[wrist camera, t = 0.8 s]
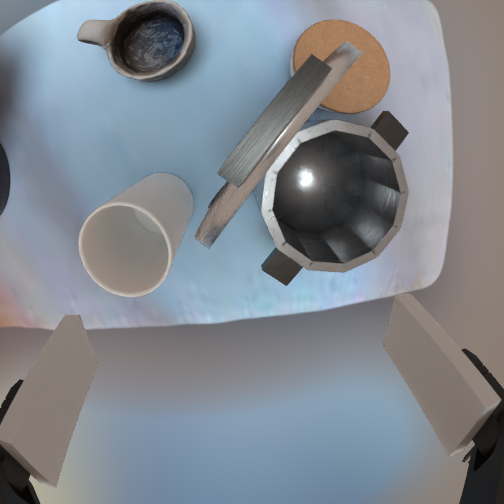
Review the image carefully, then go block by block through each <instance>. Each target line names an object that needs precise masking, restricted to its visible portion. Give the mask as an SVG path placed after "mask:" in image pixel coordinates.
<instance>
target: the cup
mask: <svg viewBox="0 0 504 504" xmlns="http://www.w3.org/2000/svg"><path fill="white" fill-rule="evenodd" d="M193 208H194V202H193V196H192V193H191V191H190V189H189V187H188V186H187V185H186V183H185V182H184V181H183V180H181V179H180V178H179V177H177V176H175V175H172V174H169V173H155V174H151V175H149V176H147V177H145V178H144V179H142V180H140V181H139V182H137V183H136V184H134V185H132V186H131V187H129V188H128V189H126V190H124V191H123V192H121V193H120V194H118V195H117V196H115V197H113V198H112V199H110V200H109V201H107V202H106V203H104V204H103V205H101V206H100V207H98V208H97V209H96V210H94V211H93V212H92V213H91V214H90V215H89V217H88V218H87V219H86V221H85V222H84V224H83V226H82V228H81V231H80V235H79V253H80V257H81V261H82V263H83V266H84V267H85V269H86V271H87V273H88V274H89V275H90V277H91V278H92V279H93V280H94V281H95V282H96V283H97V284H98V285H99V286H101V287H102V288H103V289H105V290H107V291H109V292H111V293H113V294H116V295H119V296H124V297H137V296H142V295H145V294H148V293H150V292H152V291H153V290H155V289H156V288H157V287H158V286H160V284H161V283H162V282H163V281H164V279H165V278H166V276H167V274H168V272H169V270H170V268H171V265H172V263H173V260H174V258H175V255H176V253H177V250H178V248H179V245H180V243H181V240H182V238H183V235H184V233H185V230H186V228H187V226H188V223H189V221H190V219H191V216H192V213H193Z"/></svg>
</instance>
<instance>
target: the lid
mask: <svg viewBox="0 0 504 504" xmlns="http://www.w3.org/2000/svg"><path fill="white" fill-rule="evenodd" d="M362 53H363V52H361V51H360V50H359V49H357V48H356V47H355V46H353V45H352V44H351V43H349V42H348V41H346V42H344V43H343V44H341V45H340V46H339V47H338V48H337V49H335V50H334V51H333V52H332V53H331V54H330V55H329V56H328V57H327V58H326V59H325V60H324V61H321V60H320V59H318V58H317V57H316V56H314V55H313V54H311V55H310V56H309V58H308V59H307V60H306V61H305V62H304V63H303V64H302V66H301V67H300V68H299V69H298V70H297V71H296V73H295V74H294V75H293V76H292V77H291V79H290V80H289V81H288V82H287V83H286V85H285V86H284V87H283V88H282V89H281V91H280V92H279V93H278V94H277V96H276V97H275V98H274V99H273V100H272V102H271V103H270V104H269V105H268V107H267V108H266V109H265V110H264V112H263V113H262V114H261V116H260V117H259V118H258V119H257V121H256V122H255V123H254V124H253V126H252V127H251V128H250V130H249V131H248V132H247V134H246V135H245V136H244V137H243V139H242V140H241V141H240V143H239V144H238V145H237V147H236V148H235V149H234V151H233V152H232V153H231V155H230V156H229V157H228V159H227V160H226V162H225V163H224V164H223V166H222V167H221V168H220V170H219V171H218V173H217V174H219V175H220V176H221V177H223V178H224V179H226V180H227V182H226V184H225V185H224V186H223V187H222V188H221V189H220V191H219V192H218V193H217V194H216V196H215V197H214V199H213V200H212V202H211V203H210V205H209V207H208V208H210V209H209V210H208V212H207V214H206V215H205V217H204V219H203V221H202V222H201V224H200V226H199V228H198V230H197V232H196V235H195V238H194V239H195V240H197V241H198V242H200V243H201V244H202V245H204V246H205V247H206V248H208V249H210V247H211V246H212V244H213V243H214V242H215V240H216V239H217V238H218V236H219V235H220V234H221V232H222V231H223V230H224V228H225V227H226V225H227V224H228V223H229V221H230V220H231V219H232V217H233V216H234V215H235V213H236V212H237V211H238V209H239V208H240V207H241V205H242V204H243V203H244V201H245V200H246V199H247V197H248V196H249V195H250V193H251V192H252V191H253V189H254V188H255V187H256V185H257V184H258V183H259V182H260V180H261V179H262V178H263V176H264V175H265V174H266V172H267V171H268V170H269V169H270V167H271V166H272V165H273V163H274V162H275V161H276V159H277V158H278V157H279V156H280V154H281V153H282V152H283V150H284V149H285V148H286V147H287V145H288V144H289V143H290V141H291V140H292V139H293V138H294V136H295V135H296V134H297V133H298V131H299V130H300V129H301V128H302V126H303V125H304V124H305V123H306V121H307V120H308V119H309V118H310V116H311V115H312V114H313V113H314V111H315V110H316V109H317V108H318V106H319V105H320V104H321V103H322V101H323V100H324V99H325V98H326V96H327V95H328V94H329V93H330V92H331V90H332V89H333V88H334V87H335V85H336V84H337V83H338V82H339V81H340V79H341V78H342V77H343V76H344V74H345V73H346V72H347V71H348V70H349V68H350V67H351V66H352V65H353V64H354V62H355V61H356V60H357V59H358V58H359V56H360V55H361V54H362Z"/></svg>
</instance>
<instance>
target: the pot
mask: <svg viewBox="0 0 504 504" xmlns="http://www.w3.org/2000/svg"><path fill="white" fill-rule="evenodd" d="M408 133H409V132H408V131H407V130H406V129H405V128H404V127H403V126H402V125H401V124H400V123H399V122H398V120H397V119H396V118H395V117H394V116H393V115H392V114H391V113H390V112H389V111H383V112H382V113H381V114H380V116H379V117H378V118H377V120H376V121H375V122H374V124H373V125H372V126H371V127H366V126H362V125H358V124H353V123H349V122H345V121H340V120H335V119H331V120H318V121H307V122H306V123H305V124H304V125H303V126H302V128H301V129H300V130H299V131H298V133H297V134H296V135H295V136H294V138H293V139H292V140H291V141H290V143H289V144H288V145H287V147H286V148H285V149H284V150H283V152H282V153H281V154H280V156H279V157H278V158H277V159H276V161H275V162H274V163H273V165H272V166H271V167H270V169H269V170H268V171H267V172H266V174H265V175H264V176H263V178H262V179H261V180H260V182H259V183H258V184H257V185H256V187H255V188H254V194H255V197H256V200H257V202H258V205H259V208H260V210H261V213H262V215H263V218H264V220H265V222H266V224H267V227H268V229H269V231H270V234H271V236H272V238H273V240H274V243H275V245H276V248H275V249H274V250H273V251H272V253H271V254H270V255H269V256H268V258H267V259H266V260H265V261H264V263H263V264H262V265H261V266H262V270H263V271H264V272H266V273H267V274H269V275H270V276H272V277H273V278H275V279H277V280H278V281H280V282H281V283H283V284H284V285H286V286H287V285H288V284H289V283H290V282H291V280H292V279H293V278H294V277H295V276H296V275H297V273H298V272H299V271H300V270H301V269H302V268H303V267H304V268H306V269H307V270H313V271H328V272H343V273H344V272H346V271H349V270H351V269H353V268H355V267H358V266H360V265H362V264H364V263H366V262H368V261H371V260H373V259H375V258H377V257H378V256H379V255H380V253H381V252H382V251H383V250H384V249H385V247H386V246H387V245H388V244H389V242H390V241H391V240H392V239H393V237H394V236H395V235H396V234H397V232H398V231H399V230H400V229H399V228H401V224H402V220H403V216H404V212H405V207H406V203H407V198H408V194H409V193H408V192H409V191H408V187H407V183H406V179H405V175H404V171H403V167H402V163H401V160H400V156H399V155H398V154H397V153H396V150H397V148H398V147H399V146H400V144H401V143H402V141H403V140H404V139H405V137H406V136H407V135H408ZM376 256H377V257H376Z"/></svg>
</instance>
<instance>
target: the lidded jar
mask: <svg viewBox="0 0 504 504" xmlns="http://www.w3.org/2000/svg"><path fill="white" fill-rule="evenodd" d="M346 41H348V42H349V43H351V44H352V45H353V46H355V47H356V48H357V49H359V50H360V51H361V52H363V53H362V54H361V55H360V56H359V58H358V59H357V60H356V61H355V62H354V64H353V65H352V66H351V67H350V68H349V70H348V71H347V72H346V73H345V74H344V76H343V77H342V78H341V79H340V81H339V82H338V83H337V84H336V85H335V87H334V88H333V89H332V90H331V92H330V93H329V94H328V95H327V96H326V98H325V99H324V100H323V101H322V103H321V104H320V105H319V106H318V108H320V109H322V110H326V111H330V112H335V113H345V114H348V113H359V112H363V111H366V110H369V109H370V108H372V107H374V106H375V105H376V104H378V103H379V102H380V101H381V99H382V98H383V97H384V95H385V93H386V91H387V89H388V86H389V82H390V67H389V62H388V59H387V56H386V54H385V52H384V50H383V48H382V46H381V45H380V43H379V42H378V41H377V40H376V39H375V37H373V36H372V35H371V34H370V33H369V32H368V31H366V30H365V29H363V28H362V27H360V26H358V25H356V24H353V23H351V22H348V21H343V20H325V21H321V22H318V23H316V24H314V25H312V26H311V27H309V28H308V29H306V30H305V32H304V33H303V34H302V35H301V36H300V38H299V39H298V41H297V43H296V45H295V47H294V49H293V51H292V54H291V58H290V74H291V77H292V76H293V75H294V74H295V73H296V71H297V70H298V69H299V68H300V67H301V66H302V64H303V63H304V62H305V61H306V60H307V59H308V58H309V56H310V55H311V54H313V55H314V56H316V57H317V58H318V59H320V60H321V61H324V60H325V59H326V58H327V57H328V56H329V55H330V54H331V53H332V52H333V51H334V50H335V49H337V48H338V47H339V46H340V45H341V44H343V43H344V42H346Z"/></svg>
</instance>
